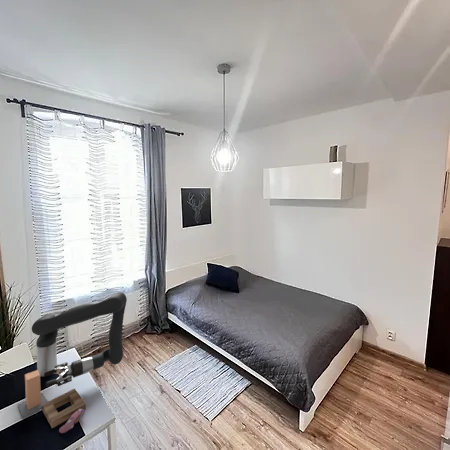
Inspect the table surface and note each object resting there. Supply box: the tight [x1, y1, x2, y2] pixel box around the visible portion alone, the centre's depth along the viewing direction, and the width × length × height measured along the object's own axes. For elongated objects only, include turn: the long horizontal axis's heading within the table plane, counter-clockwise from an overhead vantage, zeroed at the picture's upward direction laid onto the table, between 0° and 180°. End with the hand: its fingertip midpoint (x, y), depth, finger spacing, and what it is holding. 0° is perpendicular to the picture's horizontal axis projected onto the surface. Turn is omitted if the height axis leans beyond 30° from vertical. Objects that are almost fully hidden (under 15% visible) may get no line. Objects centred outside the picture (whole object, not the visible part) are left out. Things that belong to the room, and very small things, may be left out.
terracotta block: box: [24, 369, 42, 410], centre depth 121 cm, size 5×5×15 cm
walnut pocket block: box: [41, 388, 87, 429], centre depth 120 cm, size 14×14×3 cm
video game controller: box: [58, 409, 86, 434], centre depth 113 cm, size 10×5×7 cm, turn 169°
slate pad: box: [17, 392, 49, 419], centre depth 122 cm, size 10×10×1 cm
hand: (45, 379), depth 124 cm, fingers open, 8 cm apart
